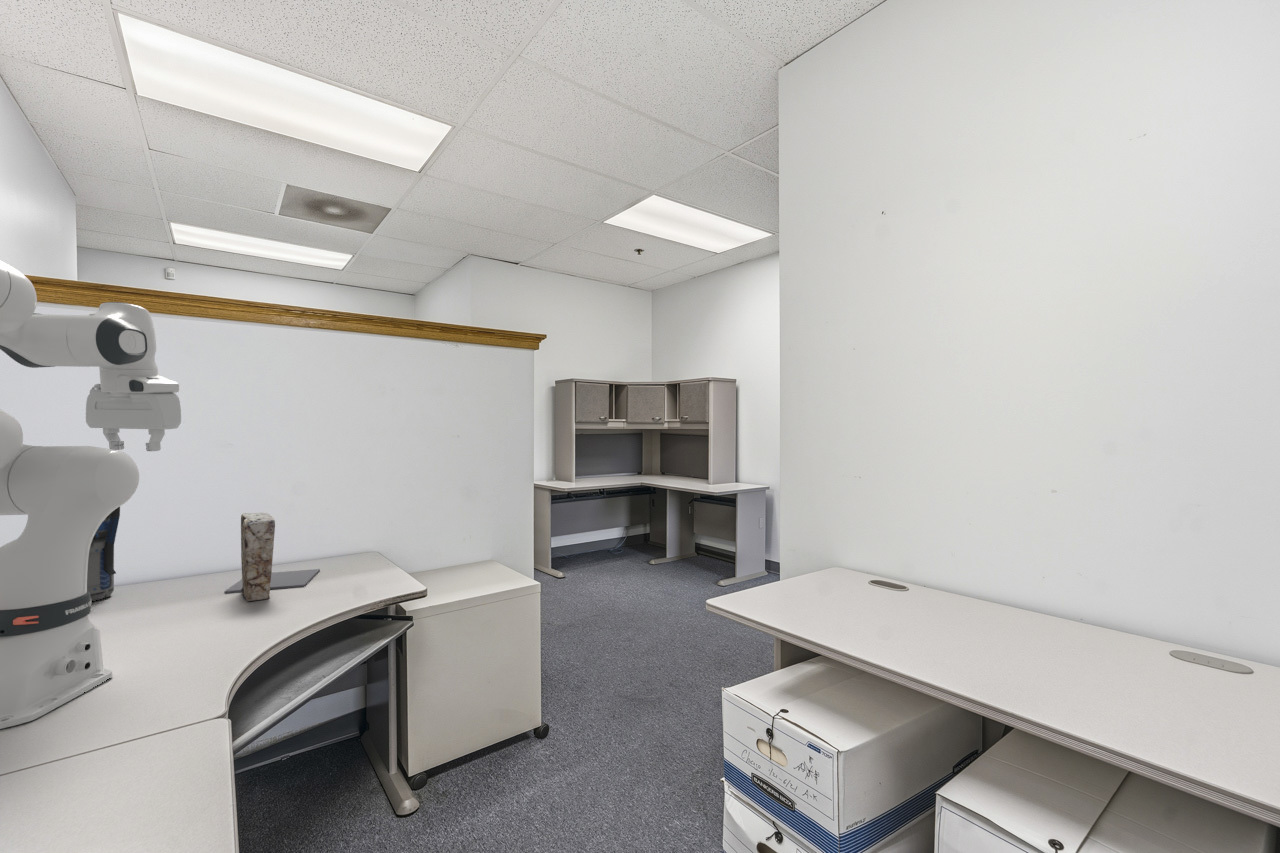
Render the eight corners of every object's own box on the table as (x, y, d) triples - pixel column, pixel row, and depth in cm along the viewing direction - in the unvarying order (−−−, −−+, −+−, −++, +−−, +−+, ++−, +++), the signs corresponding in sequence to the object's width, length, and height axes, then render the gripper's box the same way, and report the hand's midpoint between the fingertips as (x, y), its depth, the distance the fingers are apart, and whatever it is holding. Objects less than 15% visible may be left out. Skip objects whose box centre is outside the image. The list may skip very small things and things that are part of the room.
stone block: (278, 597, 137) (279, 518, 136) (244, 604, 132) (245, 521, 131) (264, 584, 146) (265, 510, 145) (232, 590, 141) (233, 513, 140)
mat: (304, 586, 146) (304, 584, 146) (224, 593, 140) (224, 591, 140) (319, 570, 163) (319, 568, 163) (248, 576, 157) (248, 574, 157)
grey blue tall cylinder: (97, 605, 131) (98, 501, 131) (39, 606, 130) (40, 502, 131) (134, 593, 141) (135, 496, 142) (80, 594, 141) (81, 497, 141)
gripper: (72, 383, 112) (77, 450, 113) (153, 384, 108) (158, 453, 109) (107, 383, 118) (112, 447, 119) (185, 384, 114) (190, 449, 115)
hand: (135, 450), depth 114 cm, fingers open, 8 cm apart
